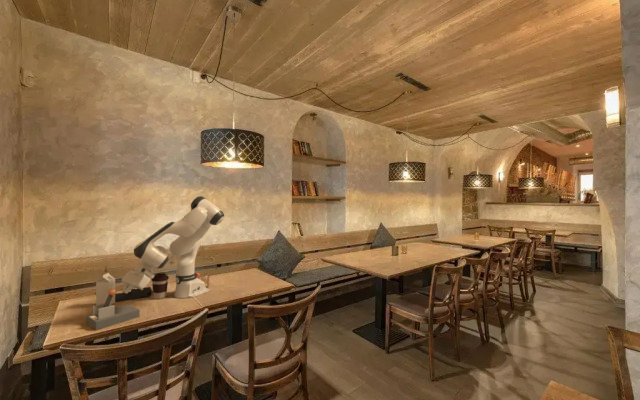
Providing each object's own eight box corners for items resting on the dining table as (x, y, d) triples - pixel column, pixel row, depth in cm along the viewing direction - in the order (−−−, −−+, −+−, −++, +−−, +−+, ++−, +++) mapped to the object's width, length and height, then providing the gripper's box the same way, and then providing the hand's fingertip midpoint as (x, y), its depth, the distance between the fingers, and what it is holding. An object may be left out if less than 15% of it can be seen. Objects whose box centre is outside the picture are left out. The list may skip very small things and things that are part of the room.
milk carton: (96, 307, 175) (96, 275, 174) (102, 303, 182) (102, 272, 181) (109, 306, 176) (109, 275, 176) (115, 302, 183) (115, 272, 183)
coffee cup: (161, 300, 187) (161, 277, 187) (147, 299, 189) (147, 276, 189) (171, 295, 197) (172, 273, 196) (159, 294, 199) (159, 272, 198)
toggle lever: (104, 312, 156) (115, 288, 160) (107, 314, 154) (117, 290, 158) (98, 312, 154) (109, 288, 157) (101, 313, 152) (111, 289, 155)
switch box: (128, 310, 170) (128, 295, 170) (139, 316, 162) (139, 300, 162) (86, 322, 154) (86, 305, 154) (96, 330, 146) (96, 312, 146)
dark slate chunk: (112, 296, 194) (112, 289, 194) (150, 291, 206) (150, 284, 206) (111, 304, 181) (111, 296, 181) (152, 297, 194) (152, 290, 194)
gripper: (130, 265, 173) (111, 286, 165) (147, 270, 161) (128, 293, 153) (138, 271, 176) (120, 292, 168) (156, 276, 165) (137, 299, 157)
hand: (124, 292), depth 161 cm, fingers closed
